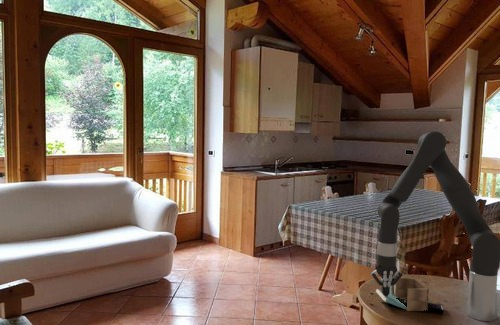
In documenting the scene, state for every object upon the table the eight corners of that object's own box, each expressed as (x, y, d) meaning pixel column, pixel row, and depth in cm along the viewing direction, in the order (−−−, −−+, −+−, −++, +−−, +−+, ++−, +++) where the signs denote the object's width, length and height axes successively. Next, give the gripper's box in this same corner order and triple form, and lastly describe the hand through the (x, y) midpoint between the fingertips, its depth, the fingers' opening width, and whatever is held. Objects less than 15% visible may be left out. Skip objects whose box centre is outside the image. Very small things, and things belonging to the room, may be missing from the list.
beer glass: (395, 297, 174) (396, 262, 172) (378, 293, 178) (380, 259, 177) (400, 292, 179) (401, 259, 178) (384, 288, 183) (385, 255, 182)
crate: (413, 299, 173) (414, 278, 172) (427, 311, 161) (428, 289, 160) (394, 299, 172) (395, 278, 171) (407, 311, 160) (408, 289, 160)
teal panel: (396, 296, 171) (376, 288, 170) (407, 307, 161) (386, 298, 160) (395, 299, 171) (375, 291, 170) (405, 309, 161) (384, 301, 160)
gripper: (373, 255, 160) (372, 299, 161) (407, 255, 161) (405, 298, 162) (367, 250, 167) (366, 291, 169) (399, 250, 168) (397, 291, 170)
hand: (385, 295), depth 165 cm, fingers closed
